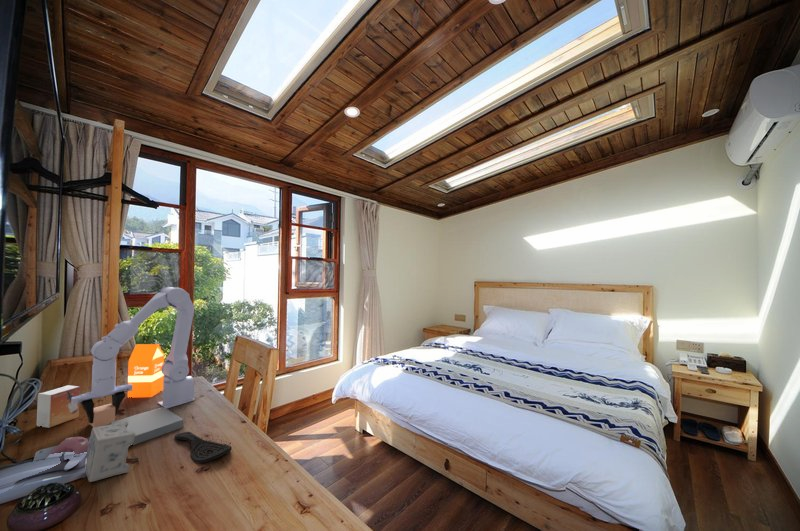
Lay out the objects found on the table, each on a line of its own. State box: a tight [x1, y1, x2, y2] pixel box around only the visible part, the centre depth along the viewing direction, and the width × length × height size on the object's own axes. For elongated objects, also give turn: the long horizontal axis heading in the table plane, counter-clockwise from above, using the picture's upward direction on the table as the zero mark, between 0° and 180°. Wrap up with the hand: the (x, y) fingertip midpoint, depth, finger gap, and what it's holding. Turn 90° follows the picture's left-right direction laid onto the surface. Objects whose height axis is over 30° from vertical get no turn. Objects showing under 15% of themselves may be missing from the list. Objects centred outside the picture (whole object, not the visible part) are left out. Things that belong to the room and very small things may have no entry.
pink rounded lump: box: [49, 436, 90, 455], centre depth 82 cm, size 10×5×7 cm, turn 71°
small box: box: [36, 384, 81, 429], centre depth 103 cm, size 8×6×10 cm
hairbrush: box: [174, 431, 233, 464], centre depth 89 cm, size 8×4×25 cm
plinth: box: [109, 406, 184, 446], centre depth 99 cm, size 14×16×2 cm
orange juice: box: [127, 343, 165, 399], centre depth 126 cm, size 8×9×20 cm
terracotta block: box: [89, 403, 116, 428], centre depth 102 cm, size 5×5×5 cm
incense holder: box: [85, 422, 135, 483], centre depth 79 cm, size 10×8×10 cm
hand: (102, 418), depth 102 cm, fingers closed on terracotta block, 5 cm apart
